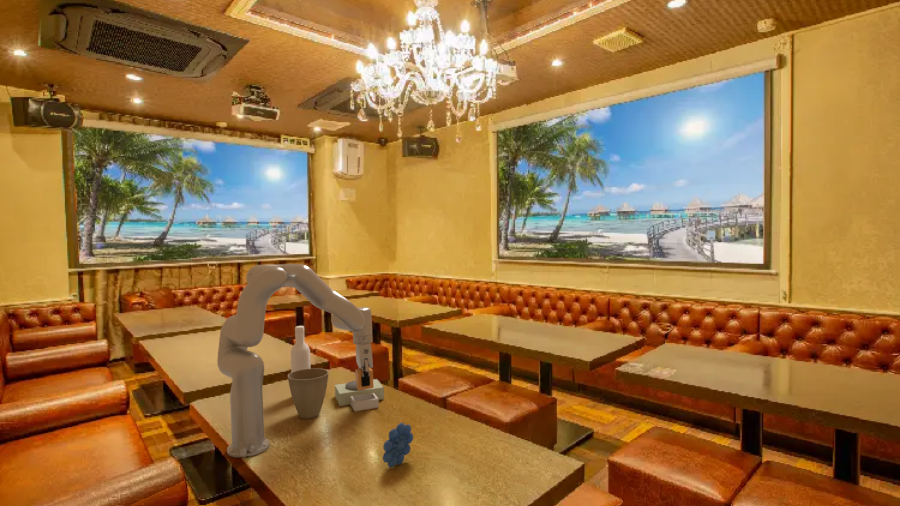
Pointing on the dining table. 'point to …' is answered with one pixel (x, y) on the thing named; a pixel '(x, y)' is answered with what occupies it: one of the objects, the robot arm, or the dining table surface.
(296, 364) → the bottle
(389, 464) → the grapes
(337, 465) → the dining table surface
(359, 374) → the orange block
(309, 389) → the plant pot
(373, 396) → the green box with tray
